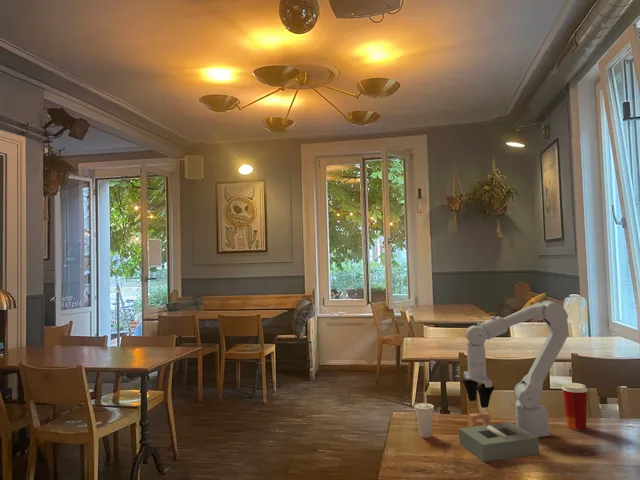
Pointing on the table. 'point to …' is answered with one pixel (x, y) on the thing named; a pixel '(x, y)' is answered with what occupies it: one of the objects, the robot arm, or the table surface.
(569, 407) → the paper cup
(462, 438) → the grey panel with window
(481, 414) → the orange arch block
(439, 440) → the table surface
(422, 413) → the smoothie
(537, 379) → the robot arm
